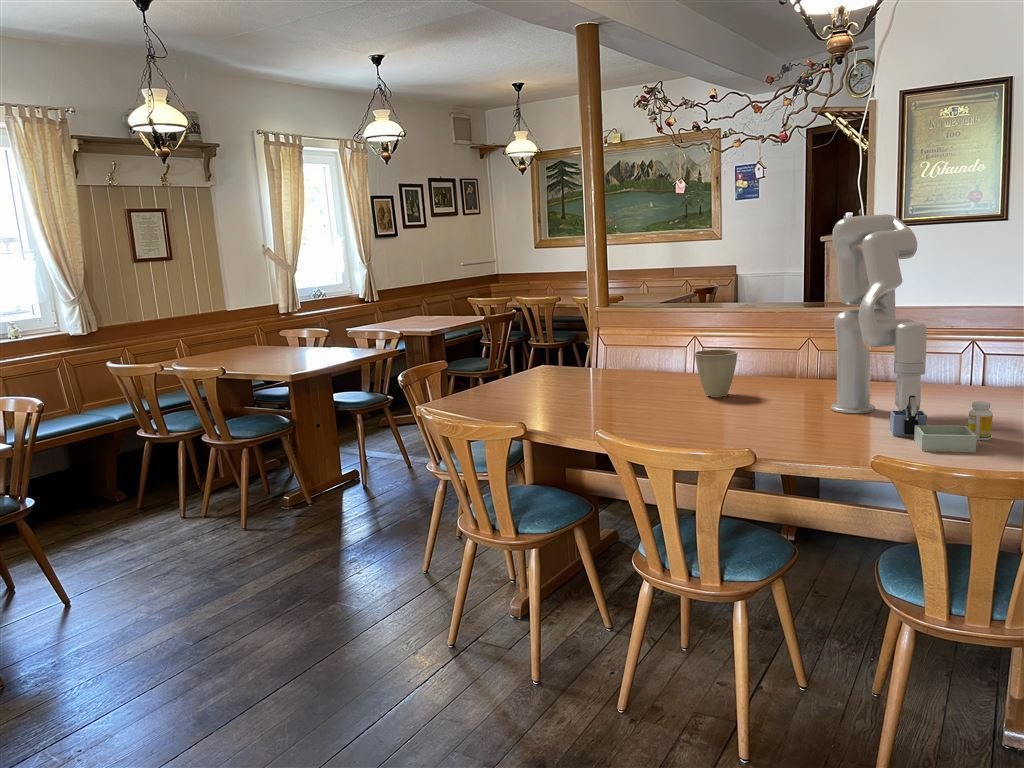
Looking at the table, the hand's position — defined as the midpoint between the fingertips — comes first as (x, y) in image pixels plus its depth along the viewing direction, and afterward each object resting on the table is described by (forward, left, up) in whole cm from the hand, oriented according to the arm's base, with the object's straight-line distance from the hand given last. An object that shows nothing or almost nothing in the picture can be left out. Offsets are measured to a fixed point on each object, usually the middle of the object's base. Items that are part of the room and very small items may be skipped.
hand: (907, 429), depth 204 cm
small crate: (0, 0, -1) cm, 1 cm away
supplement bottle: (+3, +16, -1) cm, 17 cm away
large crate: (+12, +6, -1) cm, 14 cm away
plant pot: (-50, -54, -1) cm, 74 cm away
